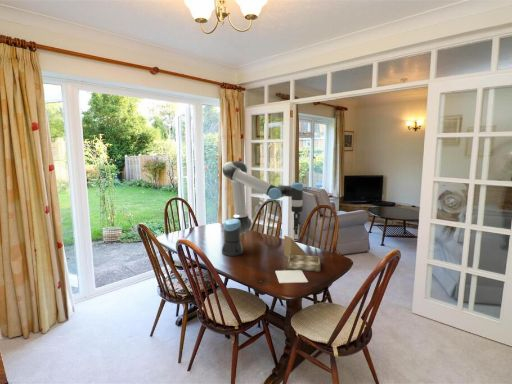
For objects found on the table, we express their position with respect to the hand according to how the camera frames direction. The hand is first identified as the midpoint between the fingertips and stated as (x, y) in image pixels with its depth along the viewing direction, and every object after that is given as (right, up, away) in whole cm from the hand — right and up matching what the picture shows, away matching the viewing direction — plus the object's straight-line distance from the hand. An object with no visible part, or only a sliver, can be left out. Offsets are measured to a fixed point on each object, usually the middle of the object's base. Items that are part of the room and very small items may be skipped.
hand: (296, 236), depth 202 cm
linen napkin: (-8, -19, -32) cm, 38 cm away
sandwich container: (0, -14, +2) cm, 15 cm away
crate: (+2, -17, -15) cm, 23 cm away
